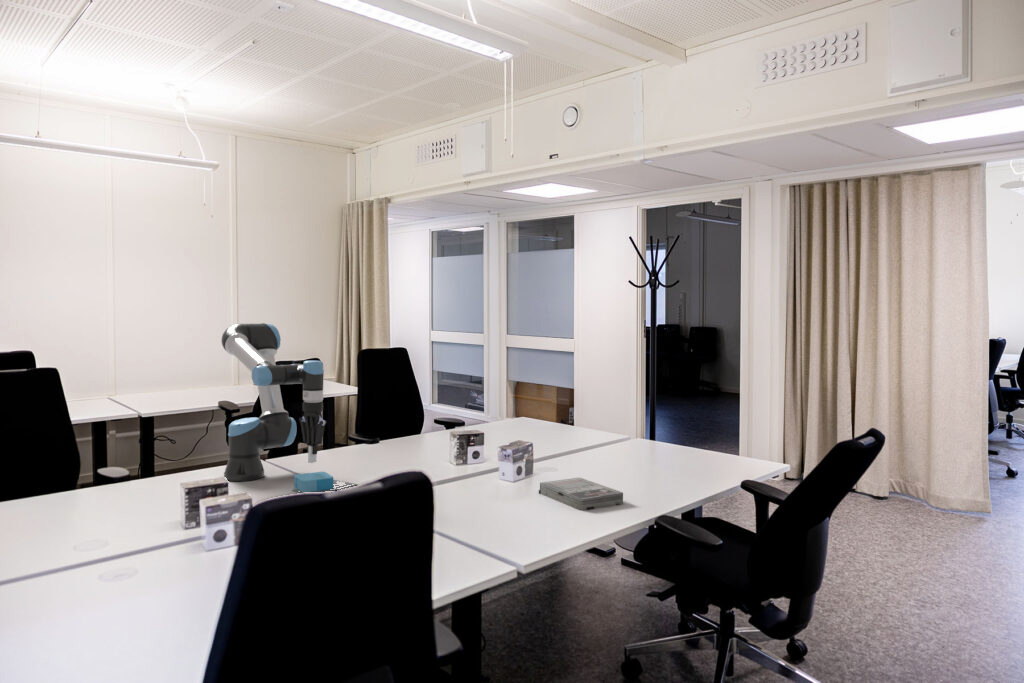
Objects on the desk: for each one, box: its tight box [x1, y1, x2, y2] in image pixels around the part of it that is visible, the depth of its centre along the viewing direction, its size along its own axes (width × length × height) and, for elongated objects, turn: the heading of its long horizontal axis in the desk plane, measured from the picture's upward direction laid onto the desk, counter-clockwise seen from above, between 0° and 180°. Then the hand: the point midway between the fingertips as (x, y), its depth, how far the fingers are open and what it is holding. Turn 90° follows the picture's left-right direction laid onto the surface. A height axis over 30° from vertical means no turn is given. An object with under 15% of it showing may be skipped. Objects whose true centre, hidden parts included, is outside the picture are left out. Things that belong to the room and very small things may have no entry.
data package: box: [293, 471, 334, 492], centre depth 258 cm, size 12×4×12 cm
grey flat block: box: [538, 477, 624, 512], centre depth 247 cm, size 18×27×4 cm
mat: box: [291, 479, 359, 494], centre depth 259 cm, size 14×20×1 cm
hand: (312, 462), depth 263 cm, fingers closed
